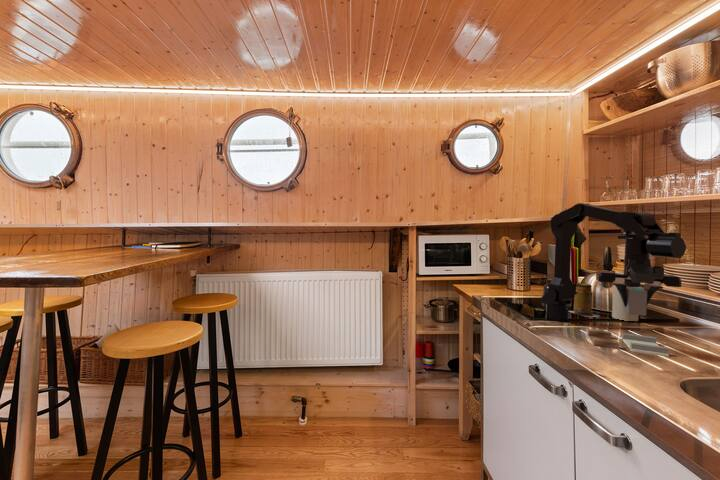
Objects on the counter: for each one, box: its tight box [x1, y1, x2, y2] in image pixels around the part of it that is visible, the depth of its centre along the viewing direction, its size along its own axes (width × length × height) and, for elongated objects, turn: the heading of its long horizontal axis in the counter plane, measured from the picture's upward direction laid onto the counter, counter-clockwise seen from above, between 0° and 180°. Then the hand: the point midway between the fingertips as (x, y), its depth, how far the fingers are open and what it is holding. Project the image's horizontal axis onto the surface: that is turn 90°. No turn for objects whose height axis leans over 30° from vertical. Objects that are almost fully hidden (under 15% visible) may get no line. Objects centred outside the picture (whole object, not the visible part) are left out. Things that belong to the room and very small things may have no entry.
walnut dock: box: [586, 328, 620, 350], centre depth 103 cm, size 6×12×2 cm, turn 154°
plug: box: [623, 286, 648, 317], centre depth 99 cm, size 4×6×8 cm, turn 153°
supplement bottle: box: [541, 278, 553, 308], centre depth 145 cm, size 7×7×12 cm
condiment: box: [568, 282, 600, 318], centre depth 134 cm, size 7×8×12 cm
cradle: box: [620, 332, 670, 357], centre depth 98 cm, size 8×12×2 cm, turn 154°
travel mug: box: [611, 270, 642, 322], centre depth 127 cm, size 8×8×18 cm
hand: (634, 307), depth 99 cm, fingers closed on plug, 4 cm apart
